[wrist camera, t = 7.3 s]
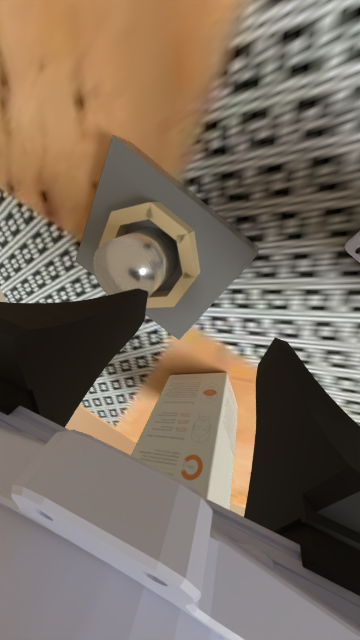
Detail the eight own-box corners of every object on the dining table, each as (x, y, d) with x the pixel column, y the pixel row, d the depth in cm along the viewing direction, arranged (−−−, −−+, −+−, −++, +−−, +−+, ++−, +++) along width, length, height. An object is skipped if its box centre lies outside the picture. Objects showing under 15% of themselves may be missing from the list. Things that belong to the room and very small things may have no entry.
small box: (184, 405, 31) (145, 517, 20) (169, 373, 28) (115, 481, 18) (239, 407, 27) (227, 543, 17) (228, 370, 25) (205, 502, 14)
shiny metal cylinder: (185, 241, 16) (161, 258, 12) (168, 288, 19) (144, 315, 15) (136, 217, 16) (96, 227, 12) (126, 267, 19) (90, 287, 15)
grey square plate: (258, 246, 17) (258, 259, 14) (185, 327, 23) (174, 348, 20) (131, 142, 16) (99, 129, 13) (91, 255, 23) (63, 265, 19)
